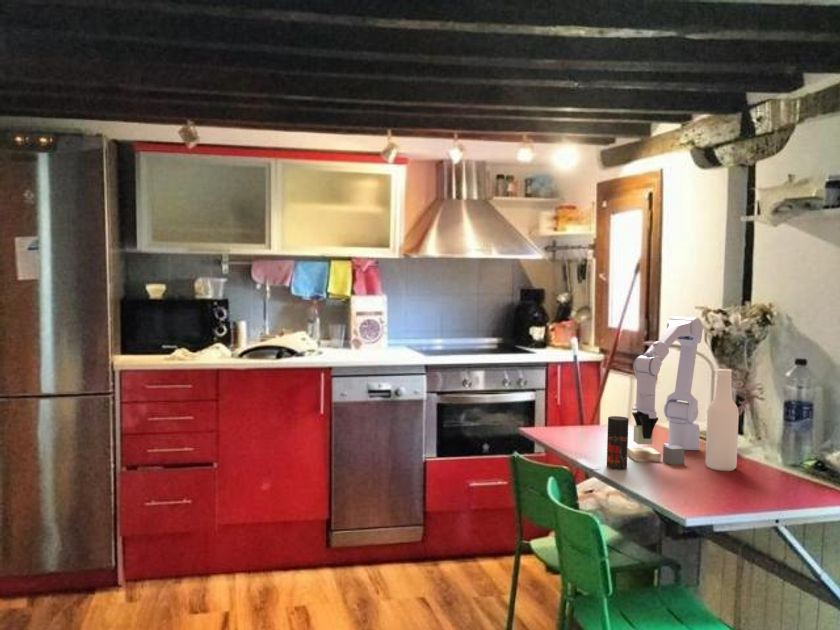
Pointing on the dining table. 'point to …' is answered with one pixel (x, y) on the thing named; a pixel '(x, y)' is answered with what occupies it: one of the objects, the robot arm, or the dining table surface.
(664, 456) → the grey cube
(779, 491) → the dining table surface
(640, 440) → the sage cube
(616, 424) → the deodorant
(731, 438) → the alcohol
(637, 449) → the birch slab
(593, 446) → the dining table surface
